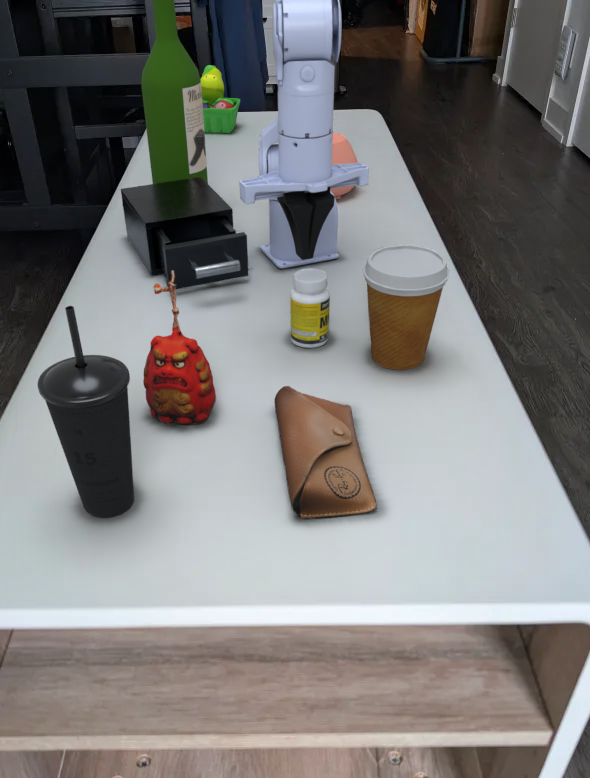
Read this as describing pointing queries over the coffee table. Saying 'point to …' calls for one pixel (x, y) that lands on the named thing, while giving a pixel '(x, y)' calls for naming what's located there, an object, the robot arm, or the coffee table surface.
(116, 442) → the drinking cup
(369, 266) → the disposable coffee cup
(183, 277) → the drawer
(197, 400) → the red clay folk toy
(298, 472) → the sunglasses case
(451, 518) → the coffee table surface
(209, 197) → the black drawer box
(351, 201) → the coffee table surface
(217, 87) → the fruit basket
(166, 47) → the wine bottle
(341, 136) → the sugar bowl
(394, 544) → the coffee table surface
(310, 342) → the supplement bottle
